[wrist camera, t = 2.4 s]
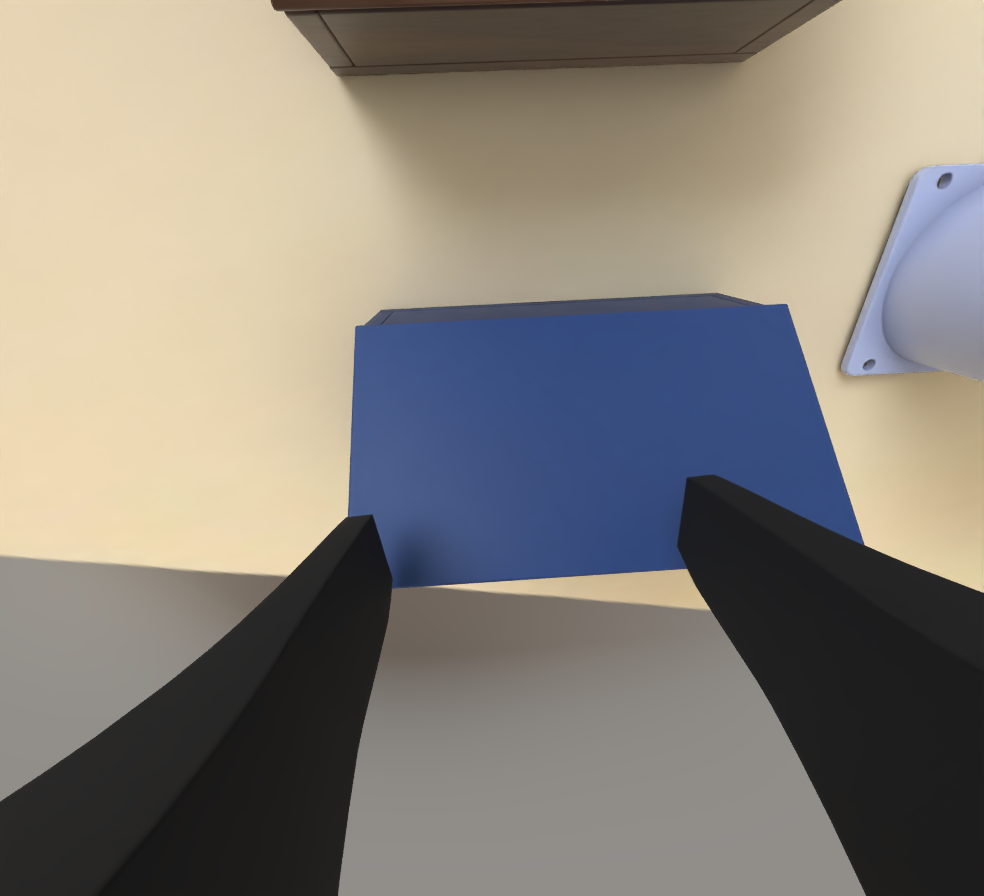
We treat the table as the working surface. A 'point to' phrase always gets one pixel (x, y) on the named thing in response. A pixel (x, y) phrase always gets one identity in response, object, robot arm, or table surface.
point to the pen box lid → (392, 3)
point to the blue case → (556, 308)
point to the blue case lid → (578, 438)
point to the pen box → (548, 34)
